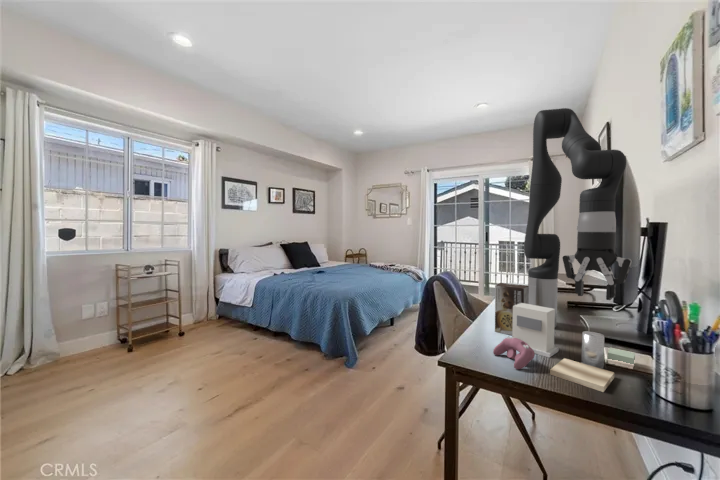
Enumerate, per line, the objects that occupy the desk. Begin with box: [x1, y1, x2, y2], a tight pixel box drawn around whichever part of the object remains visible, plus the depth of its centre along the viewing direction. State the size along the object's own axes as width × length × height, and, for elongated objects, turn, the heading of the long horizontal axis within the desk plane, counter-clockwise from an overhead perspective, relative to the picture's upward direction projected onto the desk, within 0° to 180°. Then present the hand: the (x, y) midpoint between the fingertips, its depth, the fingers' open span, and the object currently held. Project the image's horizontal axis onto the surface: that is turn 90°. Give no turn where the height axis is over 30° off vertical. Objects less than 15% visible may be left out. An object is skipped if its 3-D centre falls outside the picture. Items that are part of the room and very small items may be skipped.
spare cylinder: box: [581, 330, 605, 369], centre depth 75 cm, size 4×4×8 cm
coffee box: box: [494, 282, 529, 336], centre depth 99 cm, size 9×6×16 cm
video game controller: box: [492, 336, 535, 370], centre depth 77 cm, size 10×5×7 cm, turn 10°
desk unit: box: [511, 303, 560, 359], centre depth 86 cm, size 7×11×12 cm, turn 39°
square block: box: [606, 347, 636, 364], centre depth 76 cm, size 5×5×3 cm
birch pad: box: [549, 357, 615, 393], centre depth 69 cm, size 10×10×1 cm
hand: (594, 297), depth 75 cm, fingers open, 5 cm apart
